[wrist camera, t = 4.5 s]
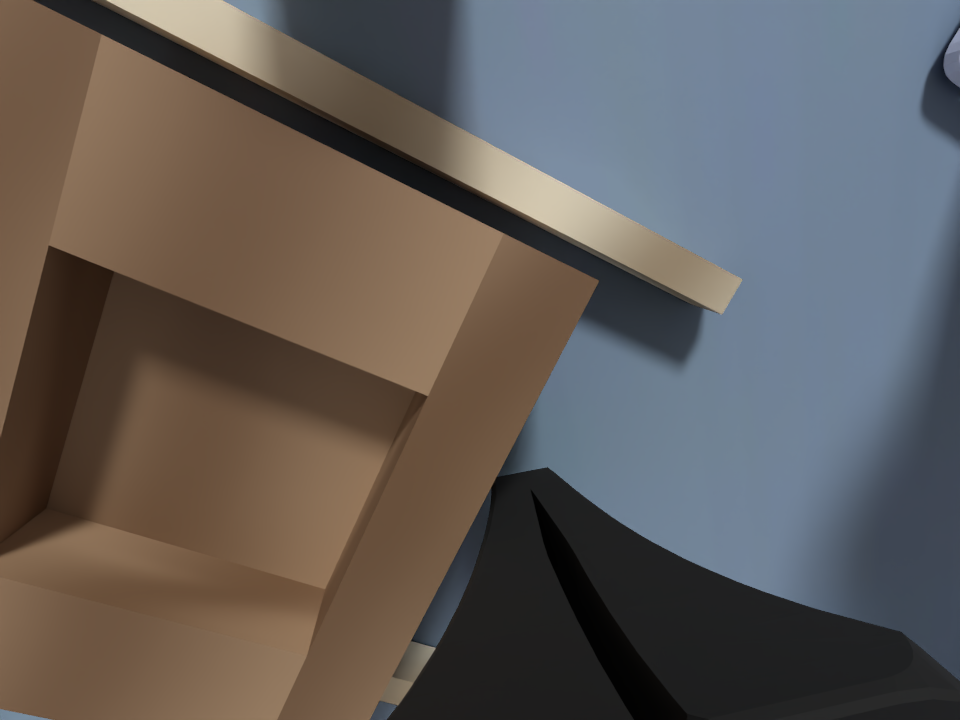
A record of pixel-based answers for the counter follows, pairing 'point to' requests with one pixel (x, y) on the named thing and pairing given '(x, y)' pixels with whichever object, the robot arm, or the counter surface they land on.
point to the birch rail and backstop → (427, 164)
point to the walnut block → (233, 394)
